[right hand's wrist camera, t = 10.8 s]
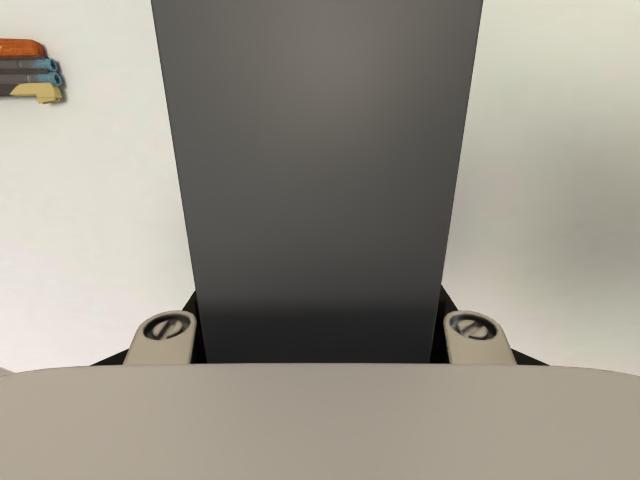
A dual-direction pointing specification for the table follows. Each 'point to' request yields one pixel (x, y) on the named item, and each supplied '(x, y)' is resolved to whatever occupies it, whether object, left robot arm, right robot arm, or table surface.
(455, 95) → the beam
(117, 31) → the table surface
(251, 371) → the right robot arm
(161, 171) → the table surface
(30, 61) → the toy gun
